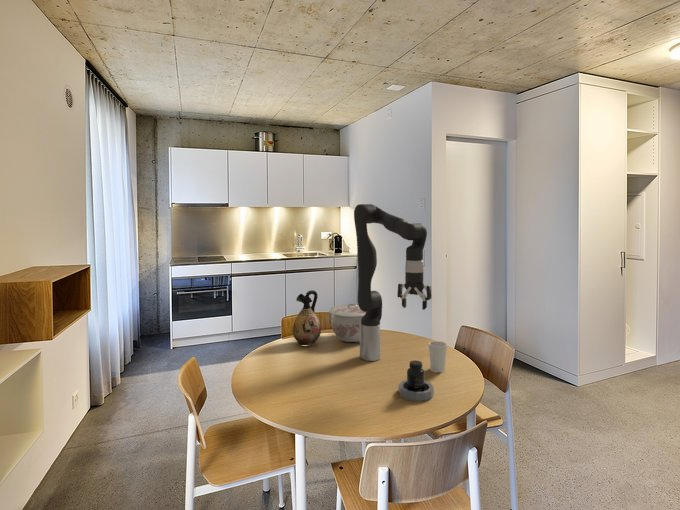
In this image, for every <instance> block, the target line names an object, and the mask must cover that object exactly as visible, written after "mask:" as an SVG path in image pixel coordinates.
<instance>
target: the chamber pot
mask: <svg viewBox="0 0 680 510" xmlns="http://www.w3.org/2000/svg"><path fill="white" fill-rule="evenodd" d="M365 314H366V312H364V311H362V310H361V309H360V308H359V306H358V304H356V303H349V304H346V305H337V306H333V307H331V308H330V309H329V310H328V315H329V319H330V321H331V326H332V331H333V333H334V334H335V336H336V337H337V339H339V340H340V341H342V342H344V343H345V342H346V343H351V342H356V343H360V339H361V319H362V317H363V316H364V315H365Z"/></svg>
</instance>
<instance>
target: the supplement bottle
mask: <svg viewBox="0 0 680 510" xmlns="http://www.w3.org/2000/svg"><path fill="white" fill-rule="evenodd" d="M425 374H426V372H425V370H424V369H423V362H422V361H421V360H415V359H414V360H411V361H409V367H408V369H407V371H406V380H407V390H409V391H414V392H423V391H425V381H426V380H425V378H426V377H425Z"/></svg>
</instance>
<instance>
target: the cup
mask: <svg viewBox="0 0 680 510" xmlns="http://www.w3.org/2000/svg"><path fill="white" fill-rule="evenodd" d="M447 347H448V343H446V342H444V341H436V340H432V341H429V342H428V350H429V351H428V352H429V365H430V371H431V372H434V373H438V372H440V373H444V372H445V371H446V360H447V359H446V358H447V349H448V348H447Z"/></svg>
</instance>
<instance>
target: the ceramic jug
mask: <svg viewBox="0 0 680 510" xmlns="http://www.w3.org/2000/svg"><path fill="white" fill-rule="evenodd" d="M310 295H313V300H312V298H311V297H310ZM317 300H318V292H317V291H315V290H314V289H313V290H308V291H307V292H306V293H305V295H304V294H303V293H300V294H298V295H297V297H296V300H295V301H296V302H299V303H302V304H303V306H302V309H301V310H300V311H299V312H298V315H297V317H295V319H294V322H293V327H292V335H293V338H294V339H295V341H296V342H297V344H299V345H298V346H300V345H312V346H314V345H315V344H316V342H317V340H318V339H319V337H320V336H321V333H322V328H321V323H320V320H319V318H318V317H317V315H316V312H315V307H316V305H317ZM310 303H311V304H310ZM313 344H314V345H313Z"/></svg>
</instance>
